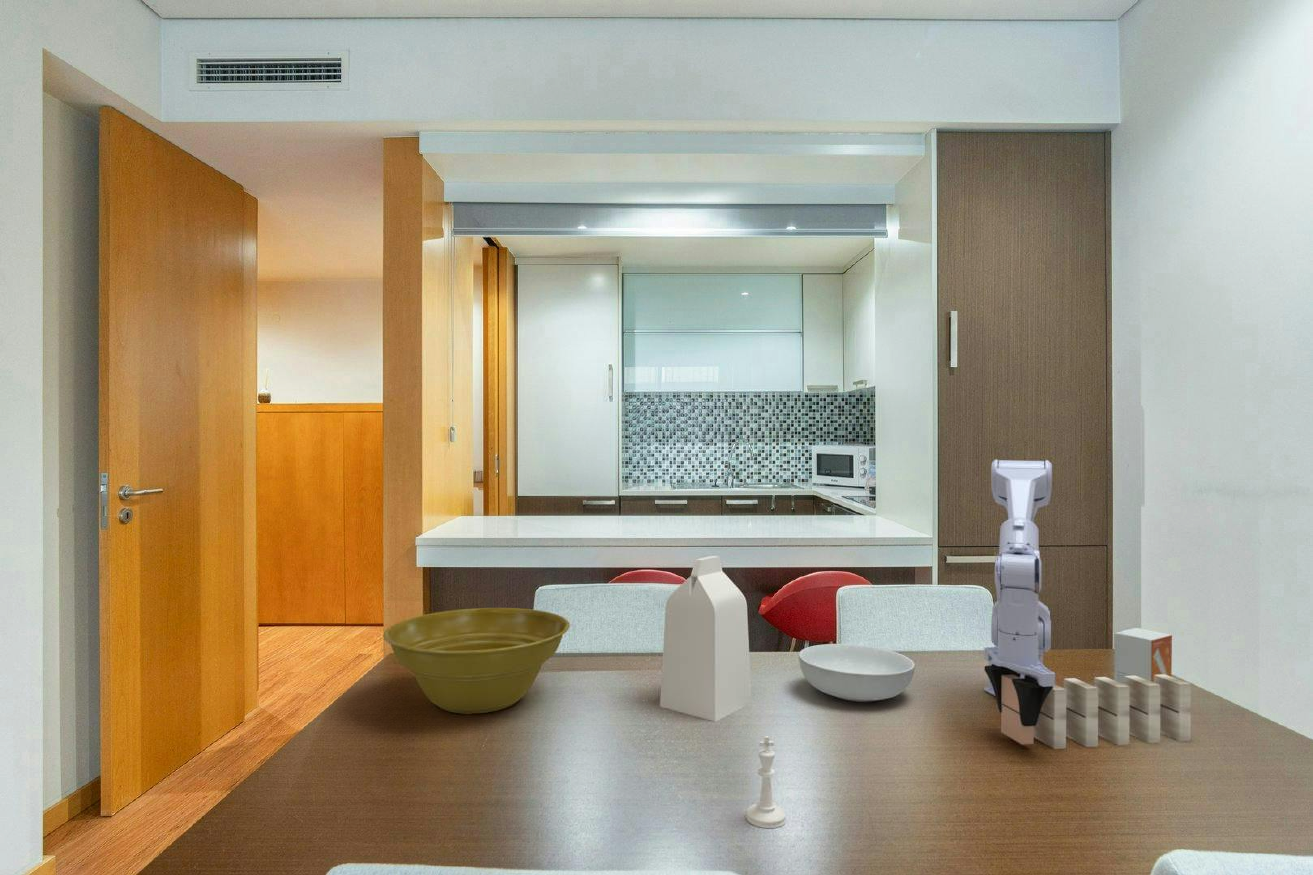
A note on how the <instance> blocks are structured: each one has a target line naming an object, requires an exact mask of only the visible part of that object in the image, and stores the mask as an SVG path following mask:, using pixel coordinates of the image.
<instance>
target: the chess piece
mask: <svg viewBox="0 0 1313 875" xmlns="http://www.w3.org/2000/svg"><path fill="white" fill-rule="evenodd" d="M759 746H760V747H764V749H760V750H759V751H758V758H759V760H760V764H761V768H758V770H757V774H758V775H759V776H761V777H762V780H761V789H760V796H759V801H757V803H755V804H752V805H750V806H748V808H747V809H746V815H745V818H746V821H748V823H749V824H752V825H753V826H755V827H757V828H762V829H776V828H780V827H783V826H784V825H785V824H786V822H787V817H786V811H785V810H784V809H783V808H782V807H780V806H778V805H776V803H775V802H774V800H773V792H772V790H773V789H772V783H771V778H772V777H774V776H776V771H775V769H773V768H772V765H773V761H774V759H775V756H776V754H775V751H773V750H772V749H770V747H774V746H775V742H774V741H773V740H770V737H769V736H768V735H765V736H764V741H761V740H760V741H759Z"/></svg>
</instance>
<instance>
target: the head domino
mask: <svg viewBox="0 0 1313 875" xmlns="http://www.w3.org/2000/svg"><path fill="white" fill-rule="evenodd" d="M1012 679H1020V678H1019V677H1017V676H1015V675H1002V694H1001V703H1002V713H1000V714H1001V715H1000V717H1001V718H1000V719H1001V720H1000V722H1001V725H1000V726H1001V730H1000V731H1001V732H1000V733H1002V734H1004V735H1005V736H1006V737H1009V738H1010V739H1012V740H1014V741H1016V742H1017V743H1019V744H1020V745H1032V744H1033V745H1034V737H1033V736H1034V726H1023V725H1022V724H1021V720H1020V712H1019V702H1018V697H1017V693H1016V690H1015V687H1014V685H1013V683H1012Z"/></svg>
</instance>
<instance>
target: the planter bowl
mask: <svg viewBox="0 0 1313 875" xmlns="http://www.w3.org/2000/svg"><path fill="white" fill-rule="evenodd" d="M570 626H571V623H570V621H569V620H567V618H565V617H564V616H561V615H559V614H556V613H552V612H549V611H546V610H539V609H531V608H530V609H529V608H518V607H478V608H477V607H476V608H464V609H463V608H462V609H453V610H444V611H439V612H432V613H427V614H423V615H418V616H415V617H411V618H408V619H404V620H402V621H399V622H396V623H395V624H393V625H391V626H389V627H388V628H387V629H386V630H385V631H384V632H383V639H384V641H386V642H387V643H388V644H390V646H391V649H392V651H393V654H394V656H395V658H396V660H397V662H398V663H399V664H400V665H401V666H402V667H404V668H405V669H408V670H409V671H410V672H412V673H413V675H414V677H415V679H416V682H417V683H418V685H419V686H420V688H421V690H422V691H423V693H424V695H425V696H426V697H427V699H428V700H429V701H430V702H431V703H433V704H434V705H436V706H437V707H439V708H440V709H442V710H443V711H448V712H450V713H454V714H455V713H456V714H469V715H470V714H471V715H472V714H484V713H490V712H496V711H499V710H503V709H507V708H508V707H509V708H510V707H511V706H512V705H514V704H516V703H517V702H518V701H520V699H522V698H524V696H526V695H527V694H528V692H529V690H530V689H531V687H532V686H533V684H534V683H535V681H536V679H537V677H538V674H539V672H540V670H541V668H542V665H543V664H545V662H546V661H547V660H549V659H550V658H552V657H553V656H554V655H555V654H556V652H557V650H558V648H559V646H560V643H561V642H562V639H563V635H564V634H565V633H567V632H568V631H569V630H570Z"/></svg>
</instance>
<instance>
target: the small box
mask: <svg viewBox="0 0 1313 875" xmlns="http://www.w3.org/2000/svg"><path fill="white" fill-rule="evenodd" d="M1113 643H1114V644H1113V645H1114V647H1113V648H1114V649H1113V650H1114V653H1113V654H1114V655H1113V657H1114V658H1113V659H1114V660H1113V662H1114V663H1113V667H1114V668H1113V669H1114V670H1113V672H1114V673H1113V676H1114V678H1113V680H1114V681H1117V682H1119V683H1122V684H1124V676H1137V677H1140V678H1143V679H1145V680H1148V681H1151V682H1153V683H1154V675H1161V674H1165V675H1168V676H1171V677H1172V671H1173V670H1172V668H1173V667H1172V662H1173V661H1172V660H1173V658H1172V655H1173V654H1172V652H1173V651H1172V649H1173V648H1172V647H1173V645H1172V644H1173V635H1172V634H1170V633H1165V632H1159V631H1155V630H1150V629H1145V628H1140V627H1133V628H1130V629H1124V630H1122V631H1118V632H1115V633H1114V642H1113Z"/></svg>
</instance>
